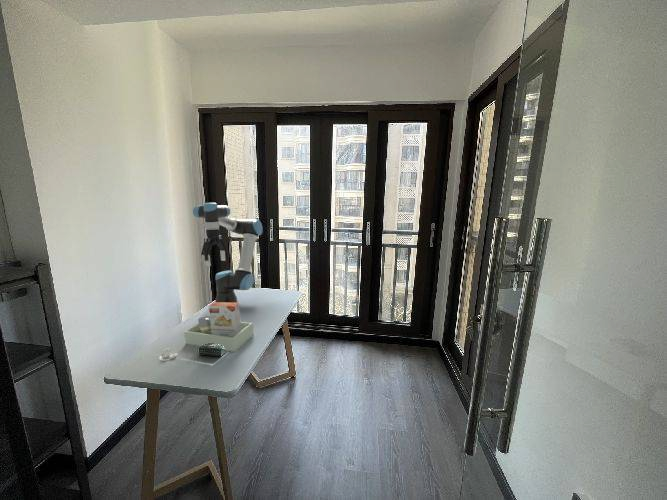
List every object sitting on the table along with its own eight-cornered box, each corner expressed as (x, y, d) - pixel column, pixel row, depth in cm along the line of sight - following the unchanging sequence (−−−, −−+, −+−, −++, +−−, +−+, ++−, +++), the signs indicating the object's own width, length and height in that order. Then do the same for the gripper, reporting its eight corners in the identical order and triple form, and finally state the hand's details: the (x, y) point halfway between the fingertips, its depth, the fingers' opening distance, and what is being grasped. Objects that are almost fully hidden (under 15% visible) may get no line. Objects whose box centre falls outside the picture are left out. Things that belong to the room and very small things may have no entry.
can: (206, 333, 157) (204, 315, 155) (217, 334, 155) (215, 316, 153) (197, 339, 150) (195, 320, 148) (208, 341, 148) (206, 322, 146)
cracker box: (212, 342, 146) (208, 305, 142) (217, 337, 152) (213, 301, 148) (237, 343, 146) (234, 306, 142) (242, 337, 152) (239, 301, 147)
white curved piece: (180, 357, 135) (179, 350, 135) (161, 364, 130) (160, 356, 129) (175, 350, 142) (174, 343, 141) (157, 356, 137) (156, 349, 136)
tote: (209, 329, 163) (207, 317, 161) (253, 335, 155) (252, 323, 153) (185, 344, 146) (184, 331, 145) (234, 352, 138) (232, 338, 137)
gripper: (221, 226, 178) (224, 258, 182) (191, 231, 155) (196, 267, 159) (231, 226, 176) (233, 258, 180) (203, 231, 153) (206, 268, 157)
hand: (216, 263), depth 170 cm, fingers open, 13 cm apart
